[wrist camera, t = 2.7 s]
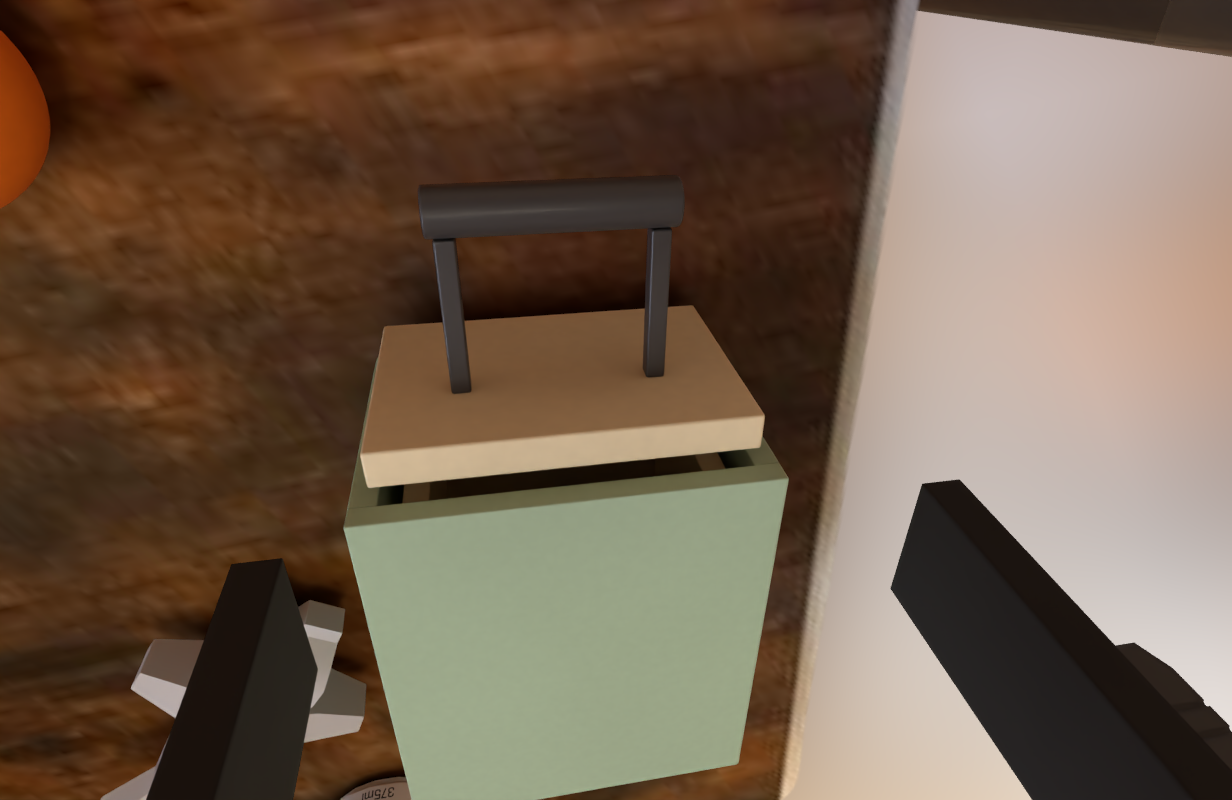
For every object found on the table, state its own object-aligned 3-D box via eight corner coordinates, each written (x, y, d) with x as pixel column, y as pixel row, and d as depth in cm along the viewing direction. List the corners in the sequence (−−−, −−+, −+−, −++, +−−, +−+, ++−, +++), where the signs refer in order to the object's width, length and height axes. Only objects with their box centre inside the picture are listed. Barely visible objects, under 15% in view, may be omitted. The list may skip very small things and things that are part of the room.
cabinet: (376, 356, 27) (343, 528, 19) (698, 332, 29) (789, 478, 21) (425, 621, 35) (416, 821, 27) (677, 587, 37) (738, 764, 29)
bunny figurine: (403, 675, 31) (270, 899, 35) (405, 595, 35) (286, 802, 39) (162, 621, 27) (42, 881, 31) (197, 538, 31) (89, 775, 35)
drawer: (351, 144, 22) (308, 227, 16) (706, 134, 24) (797, 204, 18) (430, 592, 33) (424, 752, 26) (673, 561, 35) (723, 704, 28)
